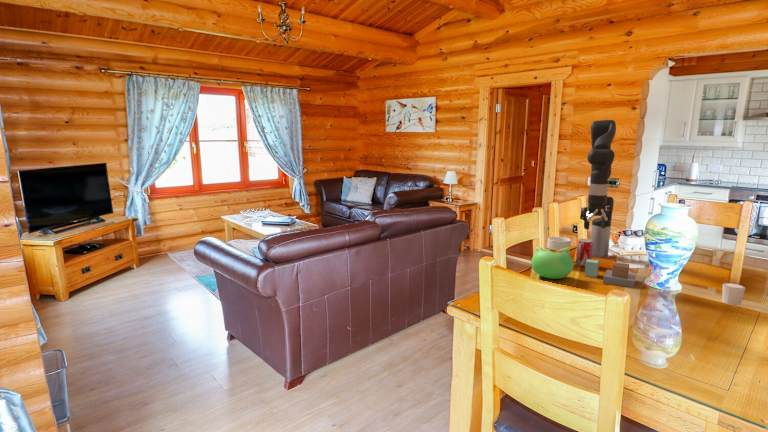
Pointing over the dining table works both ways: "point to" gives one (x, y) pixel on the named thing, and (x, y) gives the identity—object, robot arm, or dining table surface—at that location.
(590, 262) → the teal block
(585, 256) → the soda can
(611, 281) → the slate base
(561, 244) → the mug
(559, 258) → the green round pot
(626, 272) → the walnut block
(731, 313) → the dining table surface
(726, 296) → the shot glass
